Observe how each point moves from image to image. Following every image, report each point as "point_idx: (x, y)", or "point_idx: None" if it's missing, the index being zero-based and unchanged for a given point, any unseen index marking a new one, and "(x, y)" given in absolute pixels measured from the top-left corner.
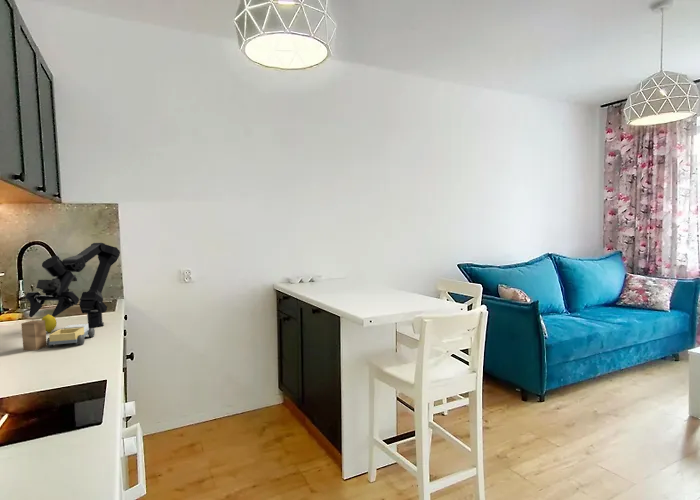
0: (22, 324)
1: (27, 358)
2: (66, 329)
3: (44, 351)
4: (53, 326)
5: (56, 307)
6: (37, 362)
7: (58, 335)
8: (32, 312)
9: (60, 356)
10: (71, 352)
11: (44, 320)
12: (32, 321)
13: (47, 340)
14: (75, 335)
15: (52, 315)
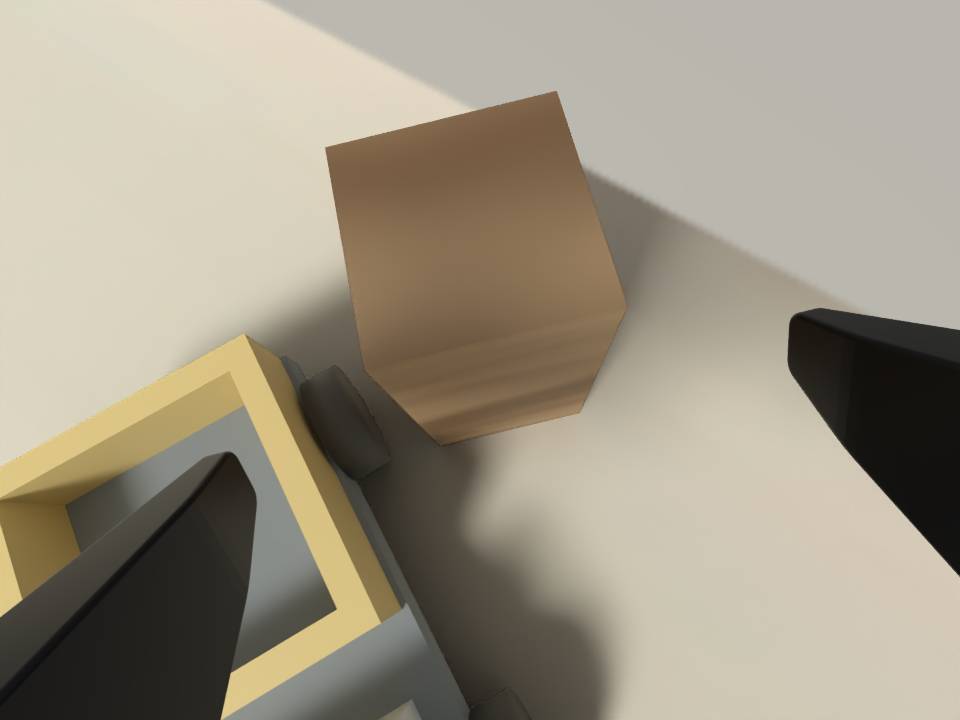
0: (536, 107)
1: (259, 139)
2: (266, 653)
3: (290, 305)
4: None
5: (61, 608)
6: (91, 99)
7: (157, 391)
8: (865, 377)
9: (20, 237)
10: (4, 340)
11: (365, 363)
12: (515, 238)
13: (328, 371)
14: None
15: (219, 455)
